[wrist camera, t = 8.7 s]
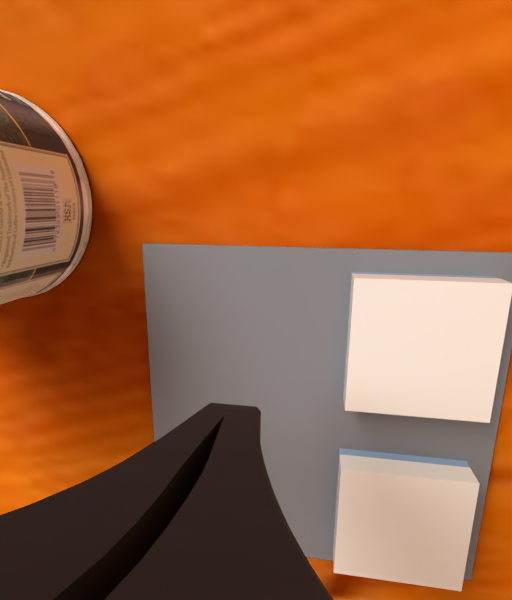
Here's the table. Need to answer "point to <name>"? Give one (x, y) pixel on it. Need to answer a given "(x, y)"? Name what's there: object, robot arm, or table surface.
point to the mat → (296, 364)
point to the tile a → (403, 518)
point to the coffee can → (38, 201)
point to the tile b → (424, 344)
